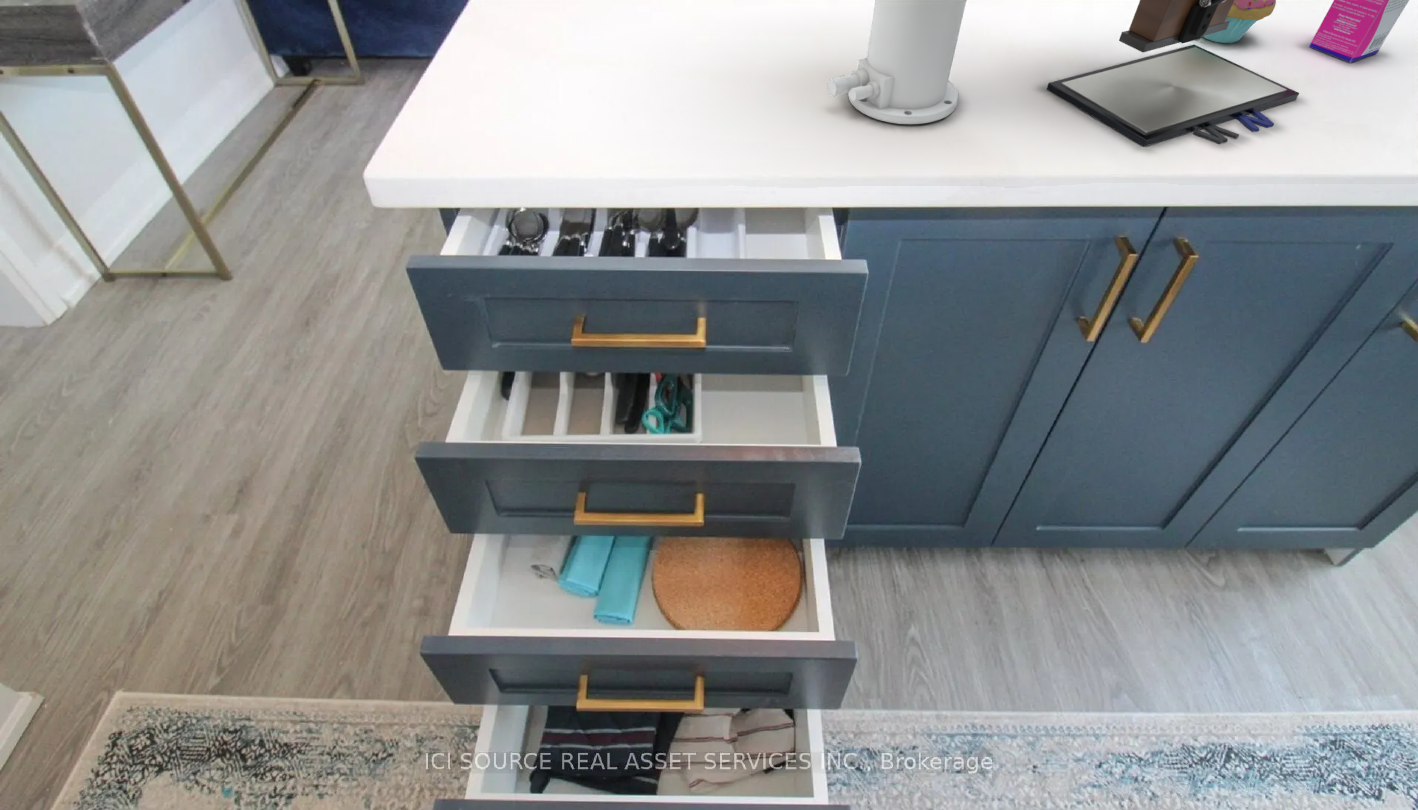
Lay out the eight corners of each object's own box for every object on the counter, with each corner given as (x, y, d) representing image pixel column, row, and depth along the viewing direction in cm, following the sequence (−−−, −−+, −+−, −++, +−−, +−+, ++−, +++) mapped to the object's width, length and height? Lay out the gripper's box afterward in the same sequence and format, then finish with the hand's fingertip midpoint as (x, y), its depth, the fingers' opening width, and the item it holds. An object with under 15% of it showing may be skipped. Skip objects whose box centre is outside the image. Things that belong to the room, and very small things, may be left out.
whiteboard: (1143, 147, 81) (1147, 138, 80) (1046, 89, 90) (1048, 81, 90) (1295, 99, 88) (1300, 91, 87) (1191, 50, 97) (1194, 42, 96)
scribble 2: (1254, 132, 83) (1255, 129, 83) (1230, 120, 85) (1231, 117, 85) (1279, 124, 84) (1280, 121, 84) (1255, 112, 86) (1257, 109, 86)
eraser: (1142, 53, 84) (1164, 0, 80) (1118, 41, 86) (1137, -11, 82) (1226, 29, 87) (1250, -22, 83) (1200, 18, 89) (1223, -32, 85)
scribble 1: (1214, 146, 81) (1216, 143, 81) (1191, 133, 83) (1192, 130, 83) (1239, 137, 82) (1240, 135, 82) (1216, 125, 84) (1217, 122, 84)
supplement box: (1333, 37, 99) (1390, -61, 91) (1378, 53, 96) (1442, -47, 87) (1305, 46, 97) (1361, -53, 89) (1350, 64, 94) (1413, -38, 85)
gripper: (1160, -175, 77) (1095, 14, 90) (1308, -138, 67) (1210, 68, 80) (1213, -184, 79) (1141, 2, 93) (1364, -149, 69) (1259, 54, 82)
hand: (1174, 31), depth 86 cm, fingers closed on eraser, 3 cm apart
